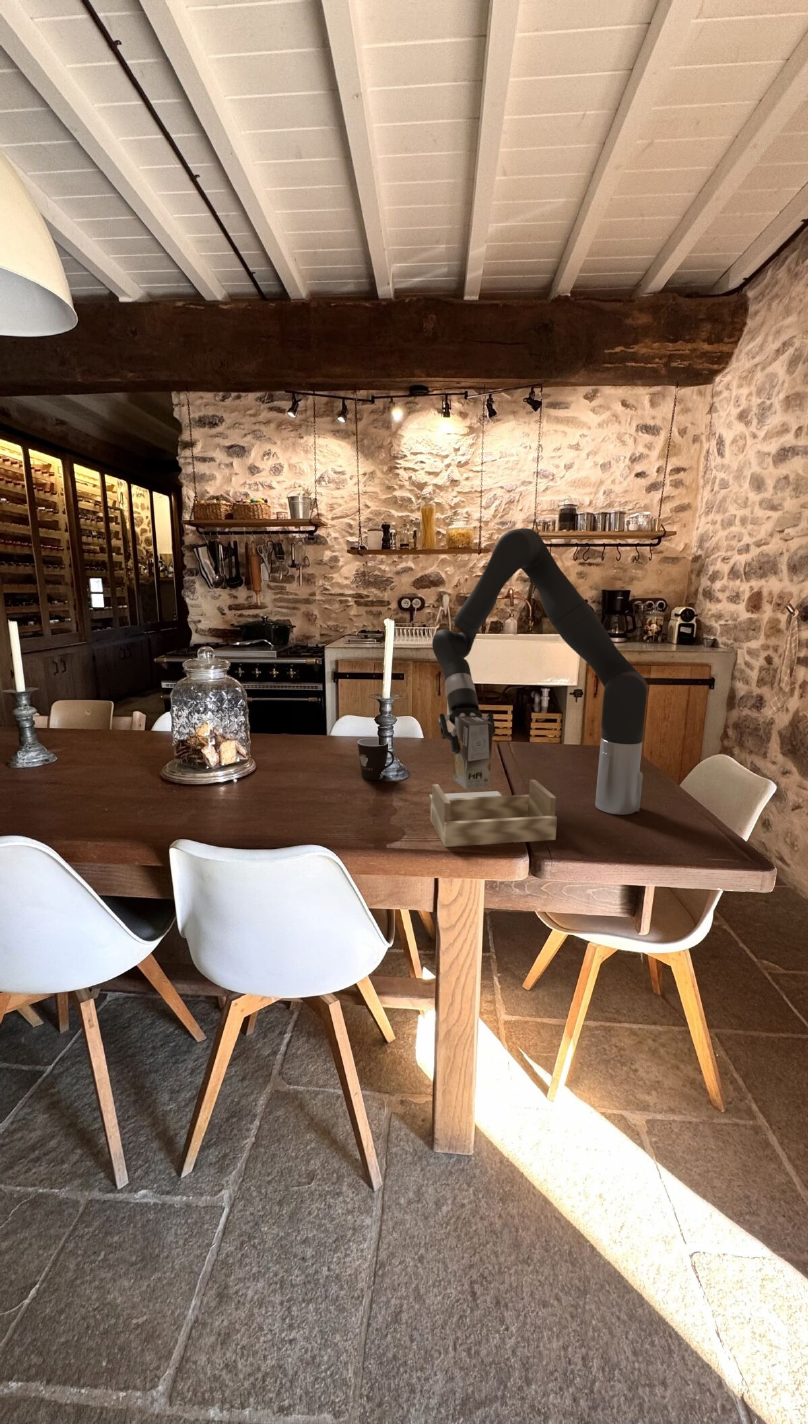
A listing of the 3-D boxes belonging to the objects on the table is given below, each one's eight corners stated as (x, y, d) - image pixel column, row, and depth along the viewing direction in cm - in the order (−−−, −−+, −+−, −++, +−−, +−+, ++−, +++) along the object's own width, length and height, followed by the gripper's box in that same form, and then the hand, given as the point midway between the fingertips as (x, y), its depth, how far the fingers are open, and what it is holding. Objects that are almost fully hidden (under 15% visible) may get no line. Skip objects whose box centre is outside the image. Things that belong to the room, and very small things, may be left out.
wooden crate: (530, 814, 137) (532, 777, 135) (555, 839, 124) (558, 799, 122) (430, 820, 133) (431, 782, 131) (445, 846, 120) (446, 805, 118)
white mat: (497, 792, 151) (497, 791, 151) (513, 810, 139) (513, 808, 139) (429, 796, 148) (429, 794, 148) (440, 814, 136) (440, 812, 136)
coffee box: (490, 788, 140) (494, 723, 136) (466, 790, 138) (469, 724, 134) (474, 776, 148) (478, 714, 145) (451, 778, 146) (454, 715, 143)
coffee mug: (353, 773, 165) (353, 739, 163) (382, 770, 168) (383, 736, 166) (366, 786, 155) (366, 750, 152) (396, 783, 158) (397, 747, 155)
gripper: (436, 687, 145) (446, 745, 137) (491, 686, 148) (504, 743, 139) (431, 703, 152) (440, 760, 143) (484, 702, 154) (496, 758, 145)
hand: (472, 751), depth 141 cm, fingers closed on coffee box, 7 cm apart
